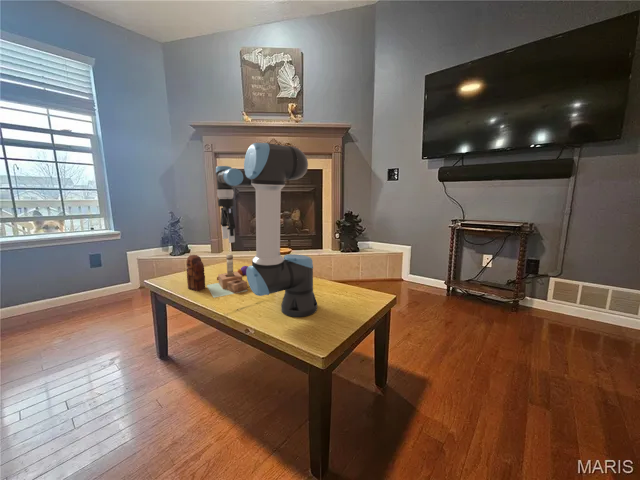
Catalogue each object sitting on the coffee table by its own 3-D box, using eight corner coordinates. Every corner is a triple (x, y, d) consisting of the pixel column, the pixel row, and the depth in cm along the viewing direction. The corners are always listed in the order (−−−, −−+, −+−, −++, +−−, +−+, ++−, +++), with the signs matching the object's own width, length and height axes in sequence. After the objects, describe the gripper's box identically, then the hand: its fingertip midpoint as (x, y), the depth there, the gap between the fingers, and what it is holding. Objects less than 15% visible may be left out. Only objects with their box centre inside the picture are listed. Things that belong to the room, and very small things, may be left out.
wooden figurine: (184, 289, 133) (180, 255, 130) (196, 285, 138) (192, 252, 135) (197, 294, 126) (193, 258, 123) (208, 290, 131) (206, 255, 128)
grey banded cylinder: (234, 284, 136) (233, 255, 133) (228, 285, 134) (227, 256, 131) (232, 282, 138) (231, 254, 135) (226, 283, 137) (225, 254, 134)
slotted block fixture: (248, 292, 128) (247, 281, 127) (213, 299, 119) (212, 287, 118) (237, 281, 144) (236, 271, 143) (206, 286, 136) (205, 275, 135)
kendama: (214, 274, 144) (246, 264, 159) (217, 284, 145) (248, 274, 159) (219, 274, 140) (251, 264, 154) (222, 285, 141) (253, 274, 155)
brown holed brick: (247, 289, 129) (246, 281, 129) (234, 293, 124) (233, 285, 124) (240, 286, 134) (239, 278, 133) (227, 289, 129) (226, 282, 128)
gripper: (240, 198, 120) (242, 243, 124) (227, 198, 141) (230, 236, 145) (223, 198, 116) (226, 245, 120) (213, 198, 137) (216, 237, 141)
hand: (228, 240), depth 132 cm, fingers open, 13 cm apart
